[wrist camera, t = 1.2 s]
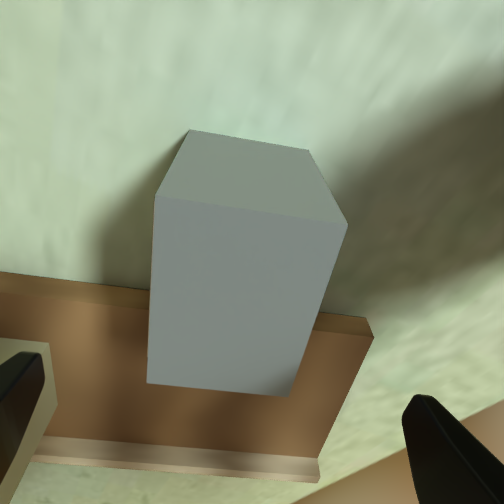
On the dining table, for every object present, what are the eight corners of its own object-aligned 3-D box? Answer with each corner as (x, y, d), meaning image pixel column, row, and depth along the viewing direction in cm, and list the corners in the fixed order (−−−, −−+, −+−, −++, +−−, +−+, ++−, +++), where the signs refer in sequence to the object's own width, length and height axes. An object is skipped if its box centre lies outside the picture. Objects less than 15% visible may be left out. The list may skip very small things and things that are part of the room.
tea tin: (308, 149, 16) (348, 224, 10) (274, 282, 19) (288, 397, 13) (186, 128, 15) (149, 194, 9) (174, 269, 19) (142, 382, 13)
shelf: (366, 318, 20) (381, 354, 18) (310, 444, 27) (316, 484, 24) (-105, 258, 18) (-157, 292, 16) (-47, 413, 24) (-77, 454, 22)
